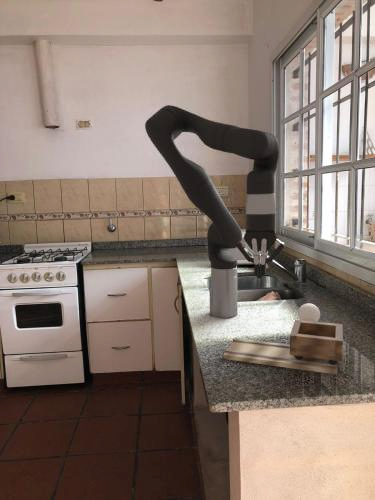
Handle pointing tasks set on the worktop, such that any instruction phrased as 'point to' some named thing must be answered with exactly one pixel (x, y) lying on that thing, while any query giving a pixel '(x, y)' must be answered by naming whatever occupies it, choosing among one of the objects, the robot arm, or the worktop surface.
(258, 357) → the track
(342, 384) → the worktop surface
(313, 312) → the lightbulb
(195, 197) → the robot arm
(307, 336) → the open wooden crate
